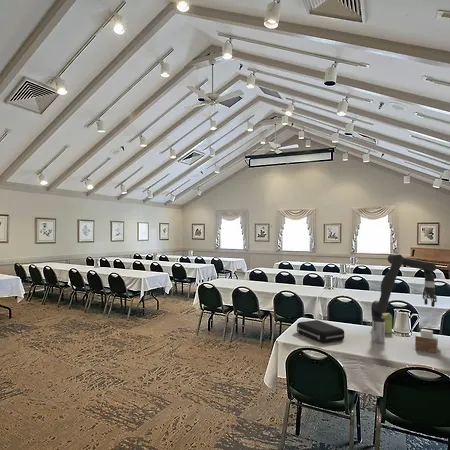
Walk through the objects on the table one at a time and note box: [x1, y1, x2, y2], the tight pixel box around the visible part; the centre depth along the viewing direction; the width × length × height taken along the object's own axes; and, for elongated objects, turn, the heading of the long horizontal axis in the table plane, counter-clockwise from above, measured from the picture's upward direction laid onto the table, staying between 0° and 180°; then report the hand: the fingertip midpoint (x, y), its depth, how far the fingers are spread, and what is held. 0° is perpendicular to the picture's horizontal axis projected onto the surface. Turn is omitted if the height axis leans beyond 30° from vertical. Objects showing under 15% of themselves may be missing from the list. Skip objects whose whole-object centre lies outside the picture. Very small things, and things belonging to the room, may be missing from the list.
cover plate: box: [416, 328, 439, 342], centre depth 277 cm, size 14×14×6 cm
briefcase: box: [296, 319, 345, 344], centre depth 306 cm, size 36×32×10 cm
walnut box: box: [414, 335, 439, 354], centre depth 276 cm, size 16×14×10 cm
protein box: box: [371, 312, 393, 334], centre depth 324 cm, size 10×15×16 cm
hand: (429, 305), depth 297 cm, fingers open, 8 cm apart
